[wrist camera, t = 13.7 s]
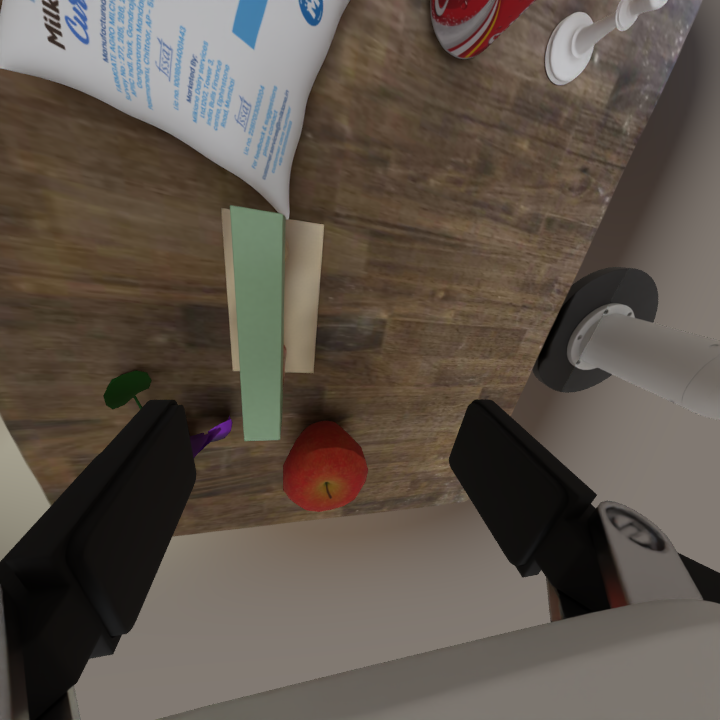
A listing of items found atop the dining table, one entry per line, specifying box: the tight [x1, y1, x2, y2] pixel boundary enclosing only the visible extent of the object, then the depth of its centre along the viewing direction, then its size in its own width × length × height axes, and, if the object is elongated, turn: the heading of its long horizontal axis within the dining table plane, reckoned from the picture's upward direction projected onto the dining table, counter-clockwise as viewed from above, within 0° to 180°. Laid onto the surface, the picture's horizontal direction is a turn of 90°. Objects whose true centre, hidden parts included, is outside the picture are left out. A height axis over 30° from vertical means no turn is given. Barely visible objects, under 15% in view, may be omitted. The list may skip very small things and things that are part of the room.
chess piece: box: [545, 0, 668, 85], centre depth 22 cm, size 5×5×10 cm
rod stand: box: [221, 208, 324, 385], centre depth 27 cm, size 10×18×10 cm, turn 172°
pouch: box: [0, 0, 350, 220], centre depth 18 cm, size 8×19×20 cm
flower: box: [103, 370, 232, 458], centre depth 30 cm, size 15×15×14 cm
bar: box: [230, 205, 286, 441], centre depth 21 cm, size 3×18×4 cm, turn 172°
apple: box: [283, 421, 368, 512], centre depth 36 cm, size 11×11×12 cm
